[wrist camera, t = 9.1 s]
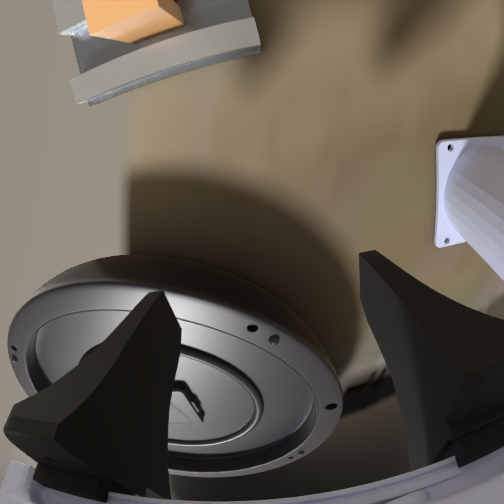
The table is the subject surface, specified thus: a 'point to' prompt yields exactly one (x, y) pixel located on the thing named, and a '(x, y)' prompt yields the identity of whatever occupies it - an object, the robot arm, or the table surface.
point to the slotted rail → (156, 47)
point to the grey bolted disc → (194, 359)
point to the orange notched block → (131, 18)
